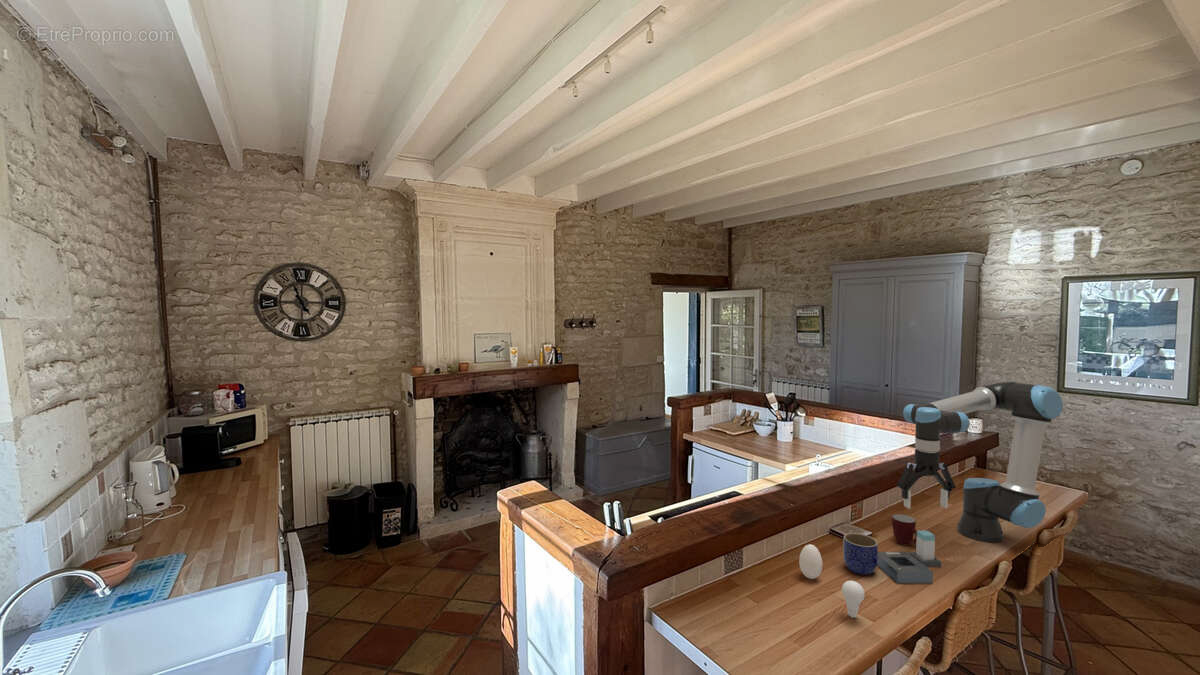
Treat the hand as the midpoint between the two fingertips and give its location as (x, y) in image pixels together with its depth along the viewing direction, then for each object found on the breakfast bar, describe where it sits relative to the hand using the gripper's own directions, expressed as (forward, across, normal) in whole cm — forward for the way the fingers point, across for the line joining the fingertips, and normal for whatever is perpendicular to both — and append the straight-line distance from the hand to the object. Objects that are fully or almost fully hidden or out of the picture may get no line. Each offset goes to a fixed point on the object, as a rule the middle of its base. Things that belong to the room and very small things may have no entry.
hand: (925, 507), depth 179 cm
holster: (+21, 0, 0) cm, 21 cm away
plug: (+21, 0, 0) cm, 21 cm away
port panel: (+21, +13, +7) cm, 25 cm away
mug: (+21, -2, -14) cm, 25 cm away
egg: (+21, +47, +11) cm, 52 cm away
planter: (+21, +27, +5) cm, 34 cm away
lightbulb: (+21, +44, +32) cm, 58 cm away
